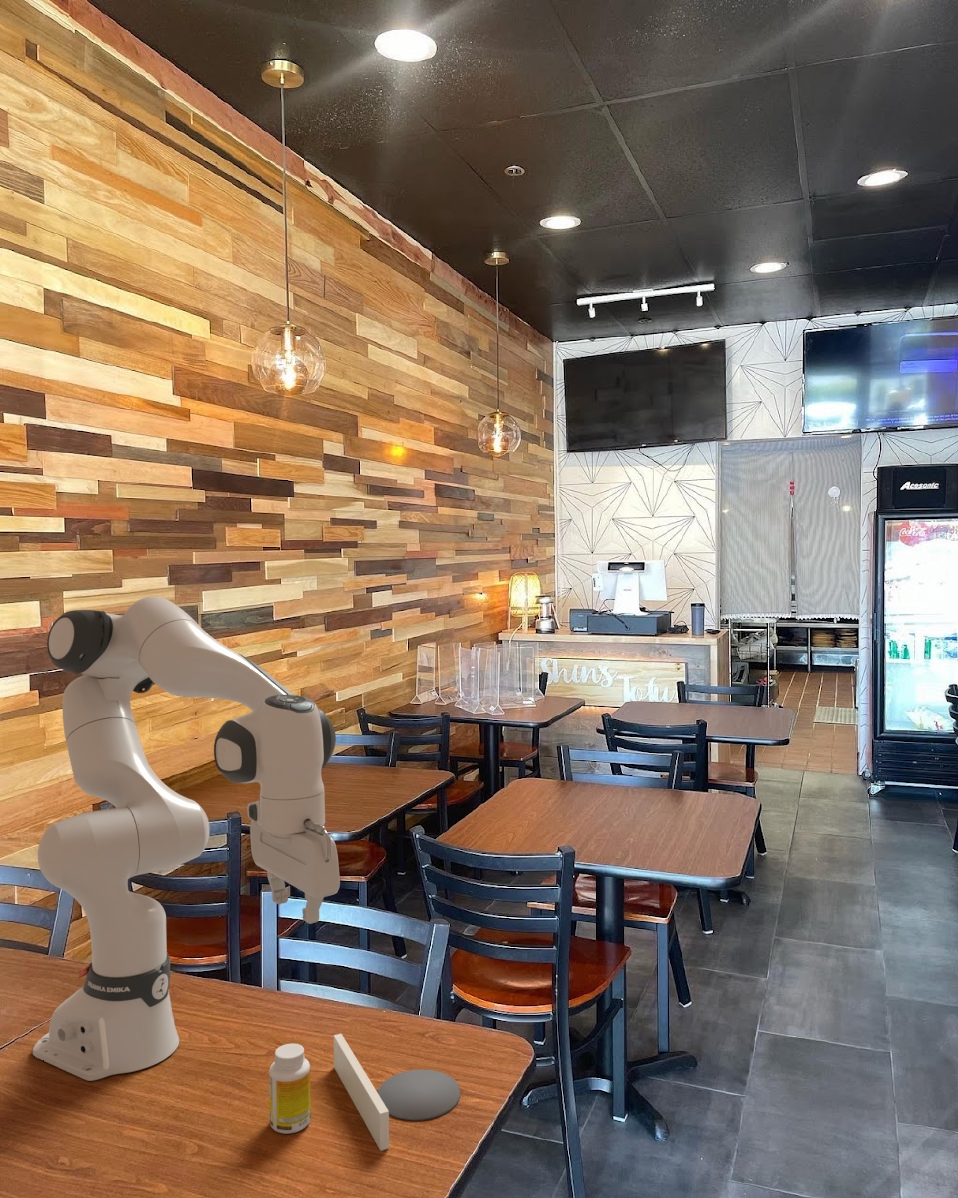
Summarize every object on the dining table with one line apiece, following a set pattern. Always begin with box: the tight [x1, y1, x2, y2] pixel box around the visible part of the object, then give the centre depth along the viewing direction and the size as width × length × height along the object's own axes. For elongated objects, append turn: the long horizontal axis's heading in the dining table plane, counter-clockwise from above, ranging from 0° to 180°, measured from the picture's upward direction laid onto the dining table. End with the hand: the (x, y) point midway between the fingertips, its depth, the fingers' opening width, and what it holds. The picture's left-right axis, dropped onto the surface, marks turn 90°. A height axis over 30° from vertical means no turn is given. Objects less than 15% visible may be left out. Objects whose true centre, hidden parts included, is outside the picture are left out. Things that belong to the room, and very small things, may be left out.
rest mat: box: [377, 1069, 461, 1121], centre depth 132 cm, size 12×12×1 cm
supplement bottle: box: [268, 1043, 312, 1135], centre depth 125 cm, size 6×6×10 cm
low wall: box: [333, 1033, 390, 1152], centre depth 130 cm, size 22×1×5 cm, turn 25°
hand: (295, 911), depth 127 cm, fingers open, 8 cm apart
